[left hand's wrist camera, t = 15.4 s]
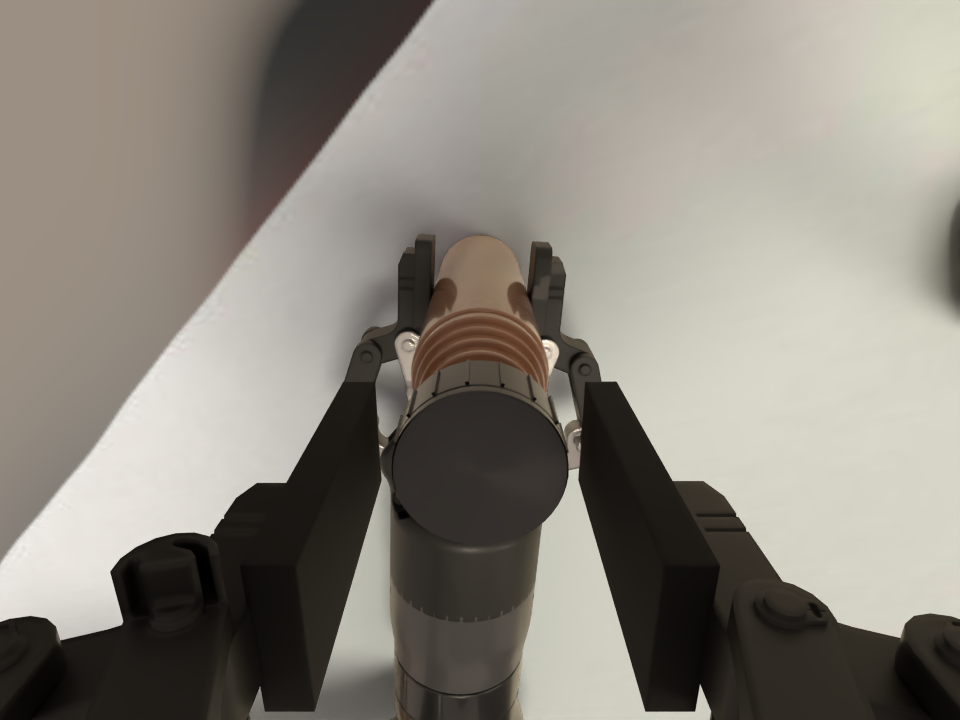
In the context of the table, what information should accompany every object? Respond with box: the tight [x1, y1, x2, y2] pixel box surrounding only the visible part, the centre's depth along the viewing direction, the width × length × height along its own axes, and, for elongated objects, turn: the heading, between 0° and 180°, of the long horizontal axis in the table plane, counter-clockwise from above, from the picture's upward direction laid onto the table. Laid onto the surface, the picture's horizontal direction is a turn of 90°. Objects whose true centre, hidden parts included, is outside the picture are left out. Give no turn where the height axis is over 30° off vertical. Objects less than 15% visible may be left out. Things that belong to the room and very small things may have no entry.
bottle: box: [411, 235, 549, 393], centre depth 22 cm, size 4×4×20 cm
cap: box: [391, 359, 569, 545], centre depth 14 cm, size 4×4×2 cm
